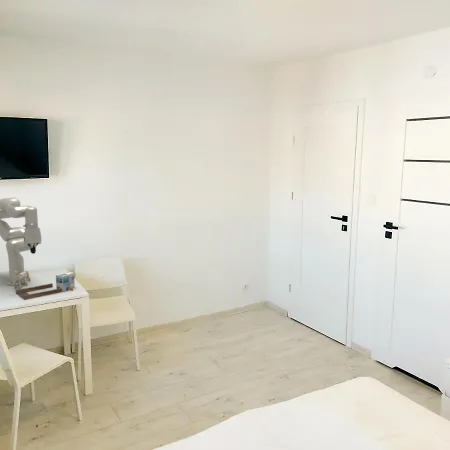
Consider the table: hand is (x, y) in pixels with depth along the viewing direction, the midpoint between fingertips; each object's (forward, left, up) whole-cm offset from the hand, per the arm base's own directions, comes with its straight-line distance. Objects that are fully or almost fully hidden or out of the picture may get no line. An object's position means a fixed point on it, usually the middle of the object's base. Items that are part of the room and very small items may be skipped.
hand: (33, 253), depth 304 cm
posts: (+9, +18, -25) cm, 32 cm away
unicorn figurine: (-9, -4, -25) cm, 27 cm away
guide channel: (+9, -1, -25) cm, 27 cm away
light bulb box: (+12, +16, -25) cm, 32 cm away
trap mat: (+9, -10, -25) cm, 28 cm away
